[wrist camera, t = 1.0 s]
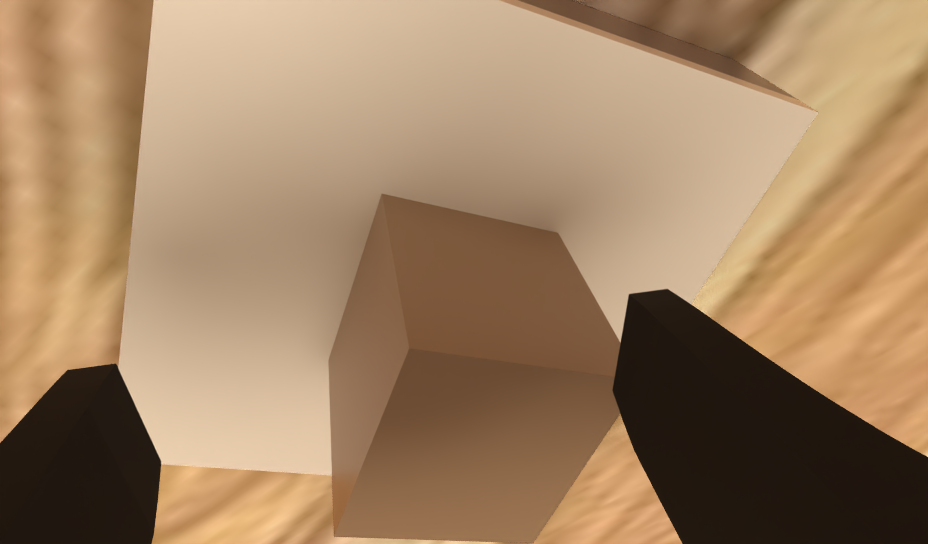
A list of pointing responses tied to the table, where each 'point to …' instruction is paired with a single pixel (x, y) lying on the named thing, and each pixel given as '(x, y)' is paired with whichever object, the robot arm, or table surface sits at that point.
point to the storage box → (652, 39)
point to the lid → (418, 243)
